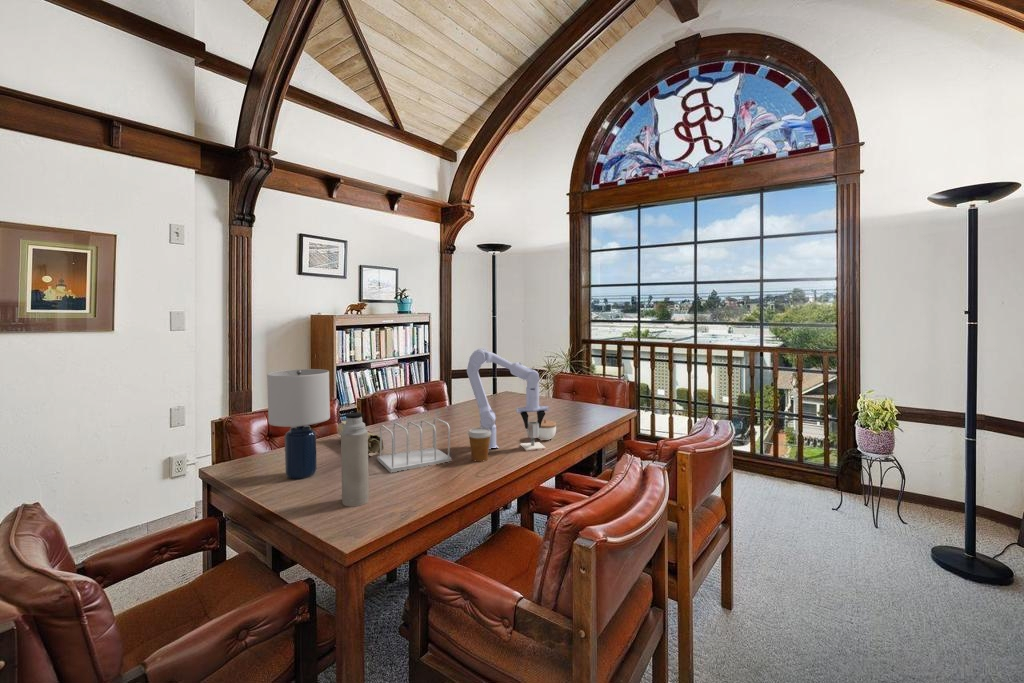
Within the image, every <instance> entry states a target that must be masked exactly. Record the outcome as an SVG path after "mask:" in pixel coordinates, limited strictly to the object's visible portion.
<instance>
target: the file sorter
mask: <svg viewBox="0 0 1024 683" xmlns="http://www.w3.org/2000/svg"><path fill="white" fill-rule="evenodd" d="M436 420H437V421H439V422H441V423H443V424H444V425H446V426H447V430H448V432H447V434H448V436H447V437H448V438H447V454H446V453H445V452H443V451H442V450H440V449H438V448H437V430H436V424H435V423H436ZM423 423H425V424H427V425H430V426H431V427H432V447H428V448H423V427H422V426H423ZM410 424H411V425H413V426H415V427H417V428H418V429H419V432H420V434H419V435H420V436H419V438H420V441H419V442H420V444H419V446H420V447H419V449H414V450H409V447H410V445H409V443H410V442H409V441H410V438H409V436H410V430H409V429H410V427H409V426H410ZM395 426H397V427H399V428H401V429H403V430H405V433H406V451H402V452H401V451H400V452H396V437H395V436H396V434H395V432H396V431H395ZM406 427H407V428H406ZM406 427H404V426H403V425H402V424H399V423H397V422H394V423H393V425H392V430H391V429H390V428H388V427H387V426H385V425H384V424H381V425H380V427H379V437H380V453H379V455H377V461H378V462H379V463H380V464H381V465H382V466H383V467H384V468H385V469H387V471H388V472H389V473H390V474H393V473H398V472H397V471H399V472H402V471H401V470H404V471H408V470H407V469H410V470H413V469H412V468H416V469H418V468H417V467H421V468H424V467H423V466H427V467H429V466H428V465H432V466H434V465H433V464H438V463H443V462H448V461H452V462H453V460H452V459H453V458H452V457H451V456H450V450H451V443H450V442H451V441H450V440H451V427H450V425H449V423H448V422H447V421H445V420H442V419H440V418H438V417H434V418H433V422H432V423H431V422H429V421H426V420H425V419H422V420H420V423H419V424H417V423H414V422H412V421H408V422H407V425H406ZM383 428H384V429H385V430H386V431H388V432H389V433H390V434H391V453H389V454H383V455H382V452H381V450H382V448H381V445H382V439H383V438H382V437H383V436H382V432H383ZM382 451H383V450H382ZM448 463H449V462H448ZM443 464H444V463H443ZM438 465H439V464H438ZM392 472H393V473H392Z"/></svg>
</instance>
